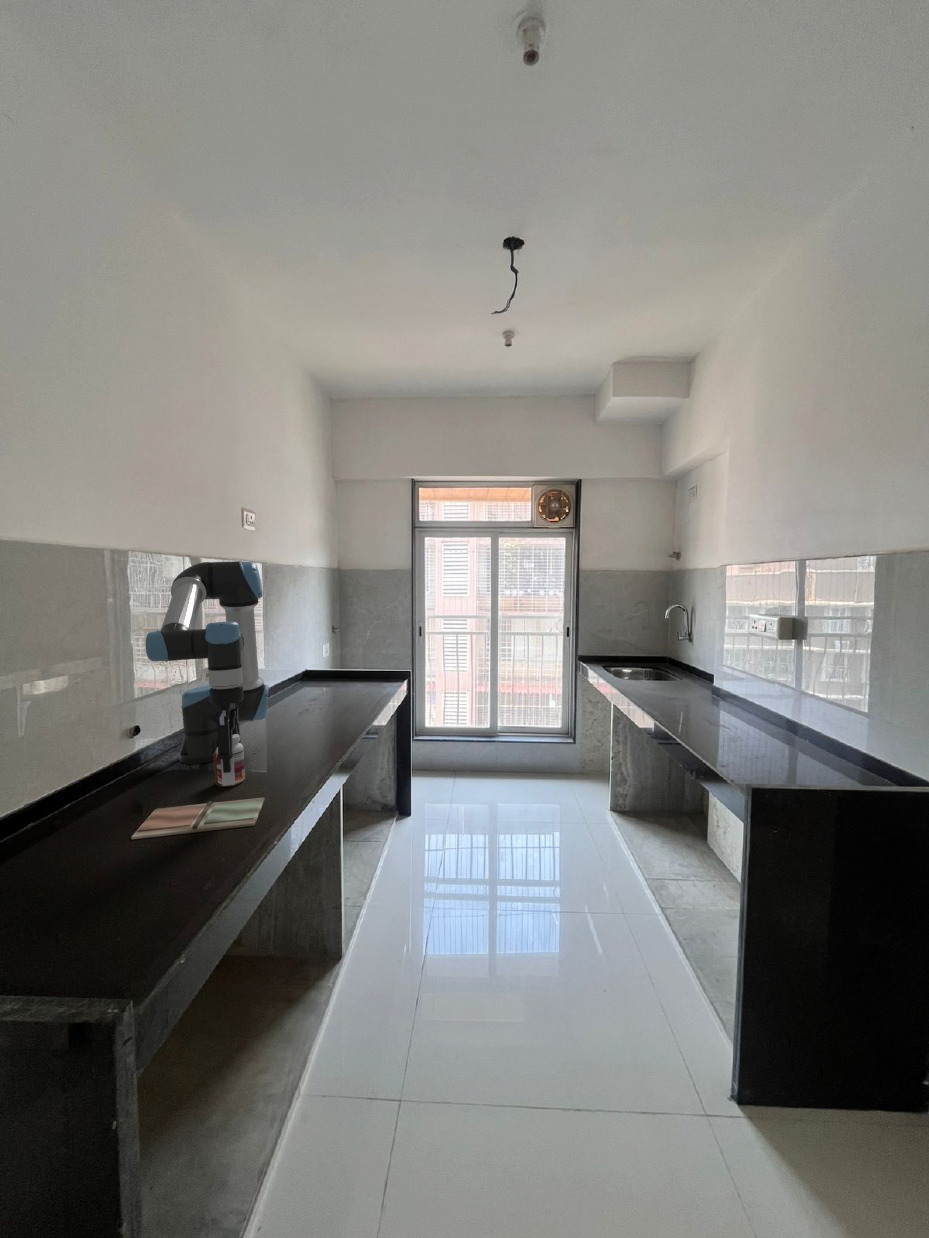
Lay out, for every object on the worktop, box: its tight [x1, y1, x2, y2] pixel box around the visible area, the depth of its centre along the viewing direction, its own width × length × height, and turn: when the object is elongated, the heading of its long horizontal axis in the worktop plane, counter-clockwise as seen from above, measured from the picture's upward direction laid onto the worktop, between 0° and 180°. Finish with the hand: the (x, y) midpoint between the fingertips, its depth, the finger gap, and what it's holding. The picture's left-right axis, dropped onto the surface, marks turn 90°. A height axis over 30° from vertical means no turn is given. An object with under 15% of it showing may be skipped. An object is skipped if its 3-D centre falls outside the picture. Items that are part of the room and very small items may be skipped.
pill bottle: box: [216, 734, 246, 784], centre depth 135 cm, size 6×6×11 cm
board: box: [131, 797, 265, 840], centre depth 134 cm, size 16×26×1 cm, turn 102°
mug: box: [213, 751, 244, 788], centre depth 156 cm, size 12×8×9 cm, turn 3°
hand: (231, 779), depth 135 cm, fingers closed on pill bottle, 6 cm apart
